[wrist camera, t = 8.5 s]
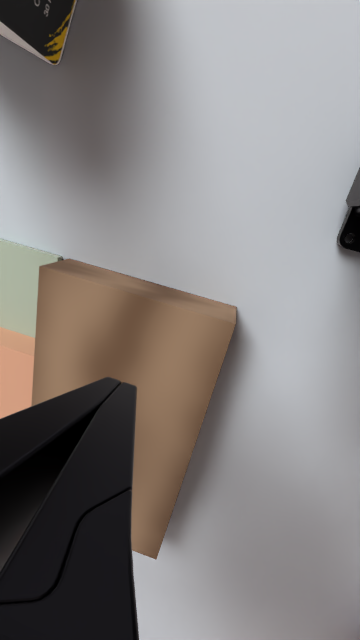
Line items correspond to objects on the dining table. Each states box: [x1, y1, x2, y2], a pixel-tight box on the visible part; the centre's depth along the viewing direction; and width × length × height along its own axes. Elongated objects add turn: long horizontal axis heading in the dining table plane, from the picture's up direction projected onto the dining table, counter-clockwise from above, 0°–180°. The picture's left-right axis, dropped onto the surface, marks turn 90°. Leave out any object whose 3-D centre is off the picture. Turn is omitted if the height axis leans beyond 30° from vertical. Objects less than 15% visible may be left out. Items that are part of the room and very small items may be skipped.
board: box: [31, 259, 237, 559], centre depth 20 cm, size 11×20×3 cm, turn 166°
